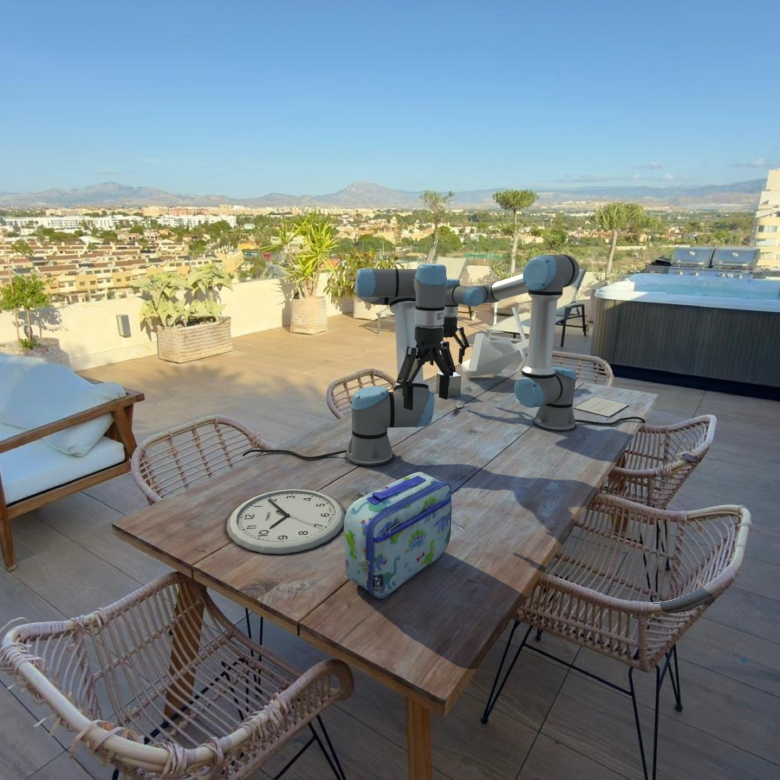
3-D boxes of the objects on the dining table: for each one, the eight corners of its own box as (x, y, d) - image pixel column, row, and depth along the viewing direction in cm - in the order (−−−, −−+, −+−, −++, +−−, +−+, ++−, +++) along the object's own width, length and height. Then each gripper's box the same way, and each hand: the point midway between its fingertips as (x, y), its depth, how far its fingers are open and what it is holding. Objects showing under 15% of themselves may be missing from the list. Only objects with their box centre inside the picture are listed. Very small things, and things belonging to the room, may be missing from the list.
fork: (449, 415, 212) (449, 411, 211) (458, 403, 226) (458, 399, 226) (455, 416, 211) (455, 411, 211) (464, 404, 225) (464, 400, 225)
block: (436, 392, 243) (436, 372, 240) (450, 390, 246) (451, 370, 243) (445, 397, 235) (446, 377, 233) (460, 395, 239) (461, 375, 236)
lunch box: (372, 611, 103) (373, 518, 97) (338, 585, 111) (336, 497, 104) (455, 557, 121) (460, 475, 115) (420, 537, 128) (424, 459, 122)
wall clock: (345, 545, 122) (213, 550, 119) (345, 551, 122) (214, 556, 120) (344, 484, 150) (238, 487, 148) (345, 490, 151) (239, 492, 148)
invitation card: (608, 416, 214) (573, 407, 224) (608, 416, 214) (573, 408, 224) (628, 404, 229) (594, 396, 238) (628, 405, 229) (594, 397, 238)
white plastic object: (482, 418, 266) (461, 395, 241) (463, 346, 288) (443, 318, 264) (553, 394, 254) (538, 368, 229) (528, 321, 276) (512, 289, 251)
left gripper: (404, 333, 124) (402, 417, 130) (471, 322, 140) (466, 397, 146) (383, 328, 129) (382, 409, 136) (450, 318, 145) (446, 391, 152)
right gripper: (424, 318, 215) (422, 367, 222) (479, 316, 223) (475, 364, 229) (418, 315, 222) (416, 363, 229) (471, 313, 229) (468, 360, 236)
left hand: (426, 403), depth 141 cm, fingers open, 13 cm apart
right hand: (446, 364), depth 229 cm, fingers open, 13 cm apart
